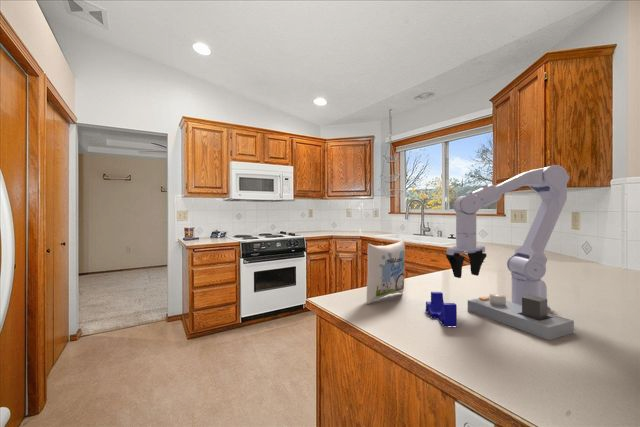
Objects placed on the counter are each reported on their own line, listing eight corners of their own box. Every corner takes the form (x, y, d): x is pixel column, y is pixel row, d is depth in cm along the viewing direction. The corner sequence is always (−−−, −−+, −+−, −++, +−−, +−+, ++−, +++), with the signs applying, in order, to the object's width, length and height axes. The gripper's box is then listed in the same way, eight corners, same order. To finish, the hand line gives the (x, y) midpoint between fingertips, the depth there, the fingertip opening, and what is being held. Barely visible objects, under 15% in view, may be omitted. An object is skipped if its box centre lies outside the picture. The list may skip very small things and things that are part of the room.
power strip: (490, 305, 90) (490, 288, 90) (573, 332, 70) (573, 310, 70) (467, 309, 87) (467, 291, 87) (548, 340, 66) (548, 316, 66)
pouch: (358, 301, 96) (357, 242, 96) (396, 291, 107) (395, 238, 107) (375, 307, 90) (374, 244, 89) (413, 296, 100) (413, 240, 100)
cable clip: (425, 311, 87) (425, 291, 86) (441, 311, 86) (441, 291, 86) (438, 327, 75) (438, 304, 74) (456, 327, 74) (456, 304, 74)
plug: (529, 320, 77) (529, 294, 76) (547, 326, 73) (547, 298, 73) (522, 323, 75) (521, 297, 74) (539, 329, 71) (539, 301, 71)
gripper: (471, 231, 97) (471, 271, 97) (438, 233, 91) (439, 275, 91) (491, 233, 90) (491, 275, 90) (457, 235, 85) (457, 280, 85)
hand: (466, 276), depth 91 cm, fingers open, 7 cm apart
